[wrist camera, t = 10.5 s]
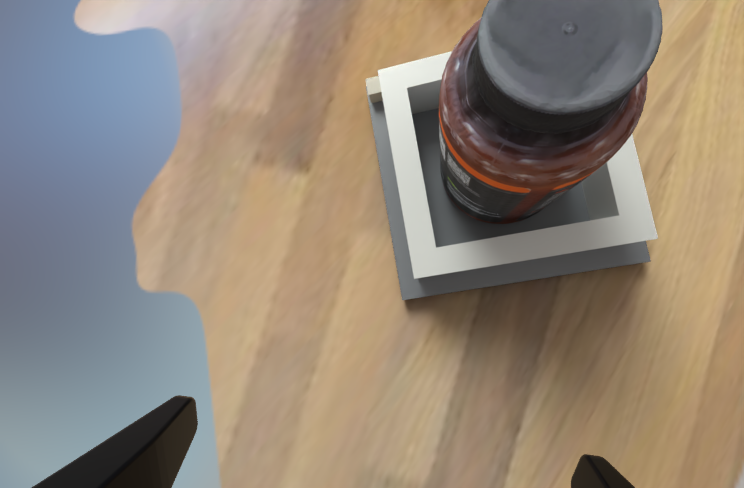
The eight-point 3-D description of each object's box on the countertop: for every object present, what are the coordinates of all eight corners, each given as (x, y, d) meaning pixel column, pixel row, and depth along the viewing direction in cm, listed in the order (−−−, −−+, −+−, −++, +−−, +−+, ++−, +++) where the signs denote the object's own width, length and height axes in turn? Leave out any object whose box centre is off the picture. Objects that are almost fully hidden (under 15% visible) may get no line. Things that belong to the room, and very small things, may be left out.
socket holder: (642, 261, 19) (691, 258, 15) (403, 299, 21) (395, 304, 17) (588, 38, 20) (621, -15, 17) (368, 93, 22) (354, 56, 18)
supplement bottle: (577, 133, 19) (766, -66, 8) (534, 243, 19) (666, 195, 8) (463, 99, 20) (492, -116, 9) (422, 203, 20) (401, 111, 9)
